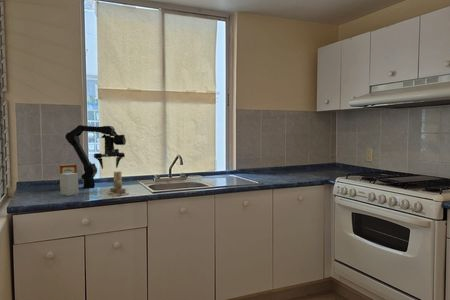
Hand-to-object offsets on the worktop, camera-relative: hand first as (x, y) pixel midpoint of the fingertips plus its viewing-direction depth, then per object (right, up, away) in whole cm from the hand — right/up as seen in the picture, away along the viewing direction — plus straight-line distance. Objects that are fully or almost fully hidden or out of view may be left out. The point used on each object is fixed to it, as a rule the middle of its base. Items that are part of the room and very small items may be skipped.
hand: (109, 168), depth 226 cm
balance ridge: (+12, -15, -20) cm, 27 cm away
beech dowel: (+12, -11, -20) cm, 26 cm away
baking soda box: (-26, -13, -3) cm, 29 cm away
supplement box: (-17, -15, -21) cm, 31 cm away
